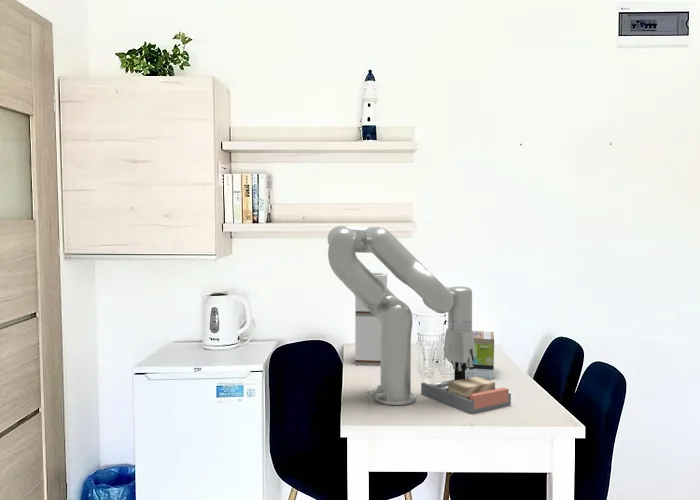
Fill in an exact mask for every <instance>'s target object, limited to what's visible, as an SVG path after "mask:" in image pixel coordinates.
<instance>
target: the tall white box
mask: <svg viewBox="0 0 700 500" xmlns="http://www.w3.org/2000/svg"><path fill="white" fill-rule="evenodd" d="M371 273H372V274H373V275H374V276H376V277H377V278H379V279H380V280H381V281H382V282H383V284H384V285H385V286H386V287H387V288H388V272H371ZM354 303H355V304H354V305H355V306H354V307H355V309H354V310H355V314H354V315H355V319H354V320H355V323H354V324H355V325H354V326H355V329H354V330H355V334H354V335H355V337H354V338H355V346H354V347H355V349H354V350H355V351H354V353H355V358H354V359H355V366H370V367H373V366H375V367H381V351H380V343H381V327H382V323H381V322H380V321H379V320H378V319H377V318H376V317H375V316H374V315H373V314H372V313H371V312H370V311H369V310H368V309H367V308H366V307H365V306H364V305H363V304H362V303H361V302H360V301H359V300H358V299H357V298H356V297H355V299H354Z"/></svg>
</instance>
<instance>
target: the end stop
mask: <svg viewBox="0 0 700 500" xmlns="http://www.w3.org/2000/svg"><path fill="white" fill-rule="evenodd" d="M509 390H510V389H509V388H506V387H500V388H495V389H494V390H489V391H484V392H479V393H474V394H470V400H472V401H474V409H479V408H483V407H488V406H492V405H497V404H501V403H506V402H508V396H509V393H510V392H509Z"/></svg>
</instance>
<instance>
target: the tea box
mask: <svg viewBox="0 0 700 500" xmlns="http://www.w3.org/2000/svg"><path fill="white" fill-rule="evenodd" d="M472 331H473V336H474V344H475V359H474V361H473V367H468V368H467V370H465V378H466V379H467V378H472V377H480V378H483V379H486V380H494V368H495V367H494V365H495V335H494V333H495V332H494V331H485V330H472Z"/></svg>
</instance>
